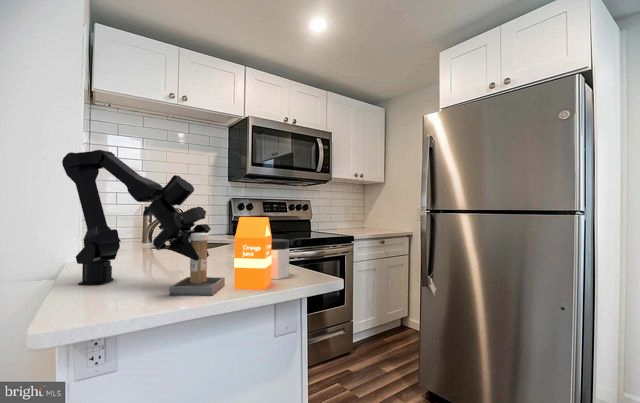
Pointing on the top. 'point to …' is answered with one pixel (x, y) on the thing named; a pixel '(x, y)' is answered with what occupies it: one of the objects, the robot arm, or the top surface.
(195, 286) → the tray
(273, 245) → the jar
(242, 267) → the orange juice
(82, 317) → the top surface
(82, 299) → the top surface
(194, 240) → the spice shaker
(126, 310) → the top surface
